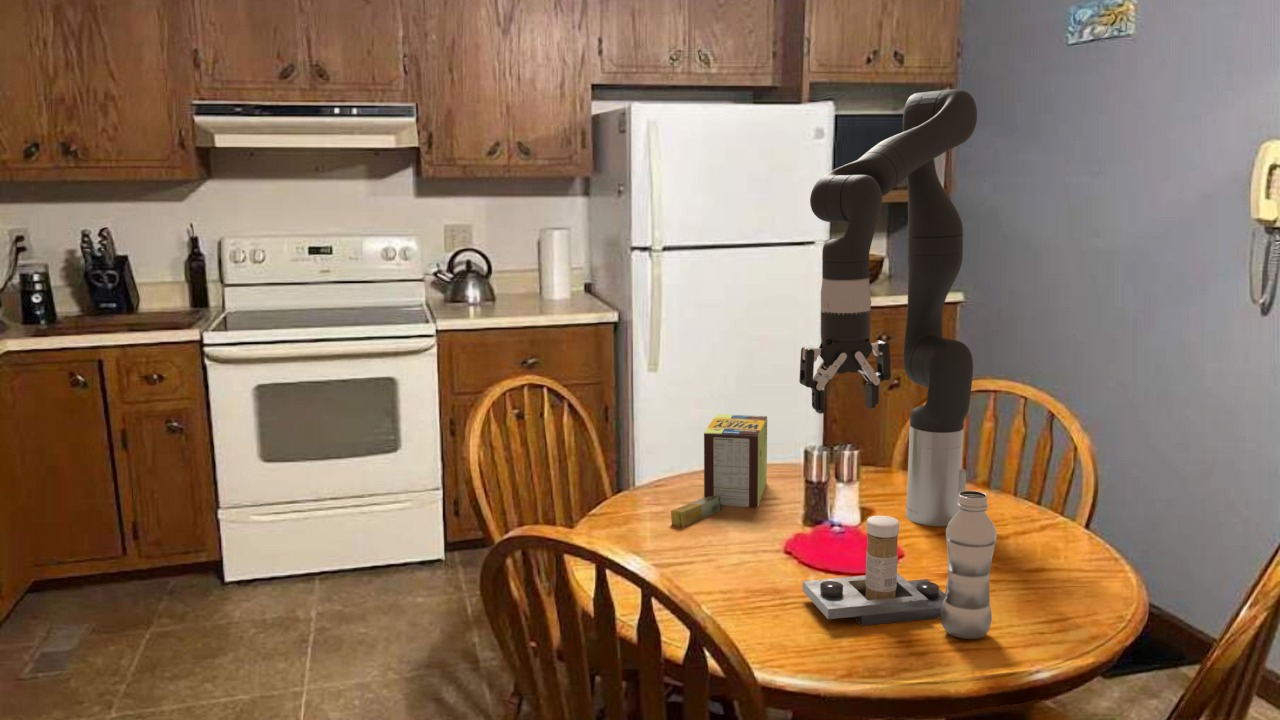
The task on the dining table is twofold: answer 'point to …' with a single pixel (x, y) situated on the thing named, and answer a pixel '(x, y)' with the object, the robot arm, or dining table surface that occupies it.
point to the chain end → (932, 612)
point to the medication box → (695, 511)
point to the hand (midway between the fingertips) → (845, 410)
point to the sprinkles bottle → (881, 557)
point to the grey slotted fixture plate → (860, 597)
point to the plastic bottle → (969, 568)
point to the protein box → (736, 459)
